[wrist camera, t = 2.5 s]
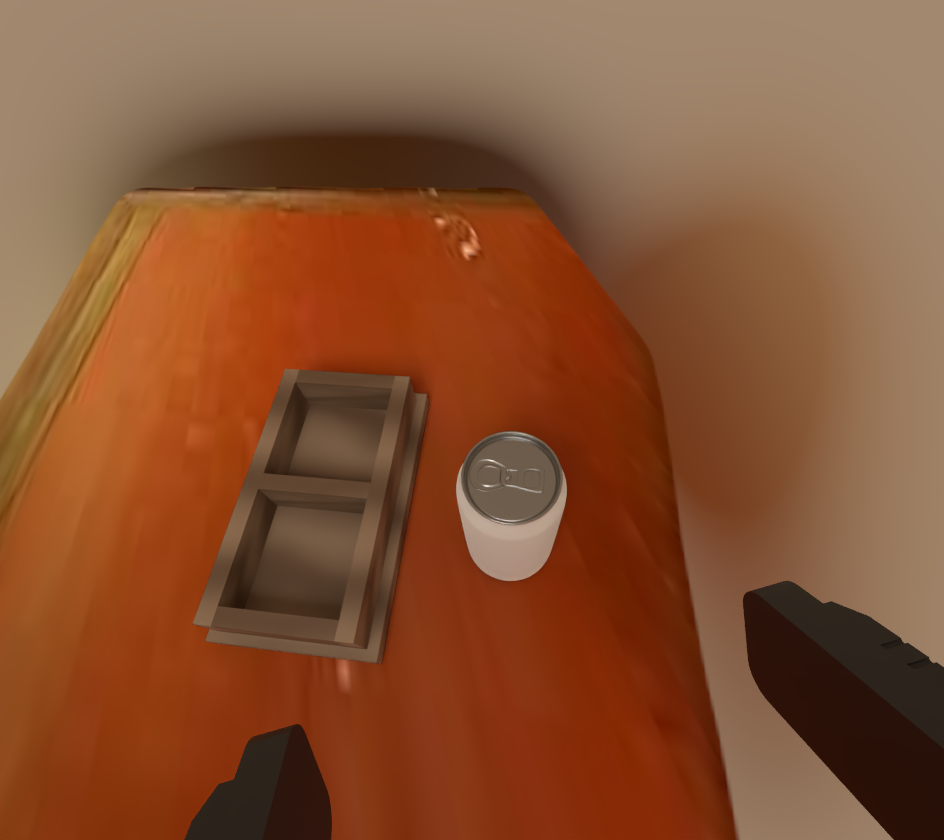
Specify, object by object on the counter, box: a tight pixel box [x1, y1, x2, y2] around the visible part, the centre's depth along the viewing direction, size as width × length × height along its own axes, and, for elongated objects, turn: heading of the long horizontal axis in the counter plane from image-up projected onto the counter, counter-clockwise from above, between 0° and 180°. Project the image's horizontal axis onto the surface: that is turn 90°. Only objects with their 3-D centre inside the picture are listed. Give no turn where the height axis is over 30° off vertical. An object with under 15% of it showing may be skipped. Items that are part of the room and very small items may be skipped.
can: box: [456, 431, 567, 581], centre depth 33 cm, size 6×6×12 cm
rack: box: [193, 369, 429, 664], centre depth 38 cm, size 21×12×5 cm, turn 173°
